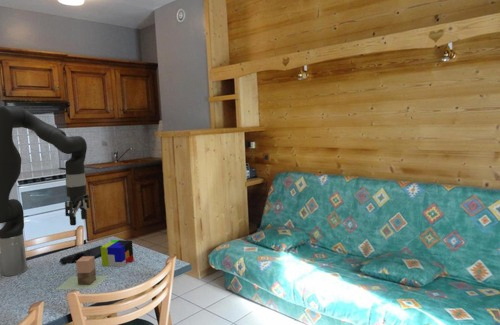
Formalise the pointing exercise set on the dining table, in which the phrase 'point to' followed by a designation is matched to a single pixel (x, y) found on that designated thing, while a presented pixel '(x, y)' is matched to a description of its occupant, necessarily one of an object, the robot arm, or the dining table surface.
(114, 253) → the puzzle toy
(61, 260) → the dark slate chunk
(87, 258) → the terracotta block
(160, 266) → the dining table surface
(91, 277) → the walnut block
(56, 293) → the dining table surface
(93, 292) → the dining table surface
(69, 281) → the build board
